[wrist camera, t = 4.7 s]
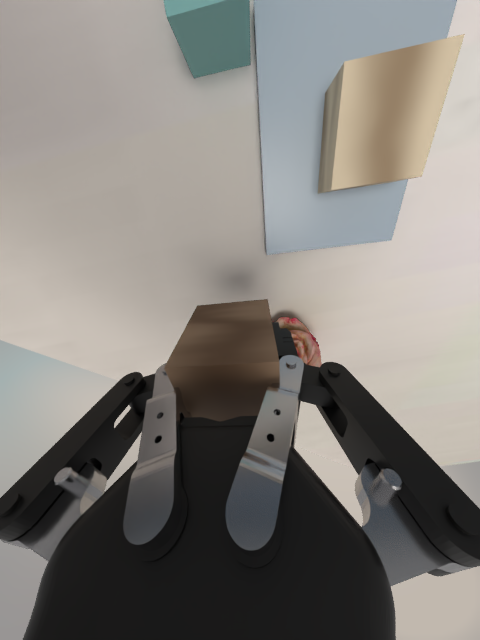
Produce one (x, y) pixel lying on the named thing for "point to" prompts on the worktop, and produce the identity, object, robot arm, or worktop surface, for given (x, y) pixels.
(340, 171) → the base block
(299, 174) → the board
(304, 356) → the flower
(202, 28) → the block teal
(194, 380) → the block walnut
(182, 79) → the worktop surface
